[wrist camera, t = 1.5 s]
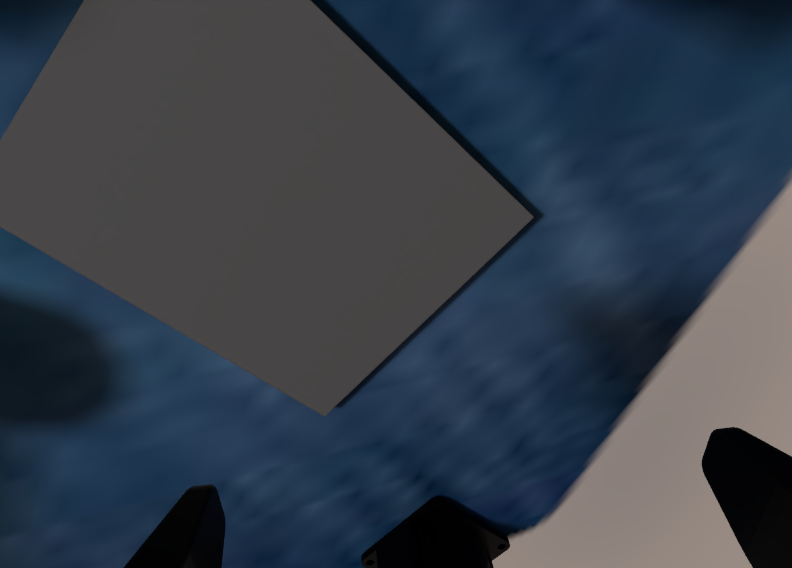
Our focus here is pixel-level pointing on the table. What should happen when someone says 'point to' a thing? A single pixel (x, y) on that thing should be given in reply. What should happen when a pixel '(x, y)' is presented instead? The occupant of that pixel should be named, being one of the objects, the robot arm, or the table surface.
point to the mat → (249, 185)
